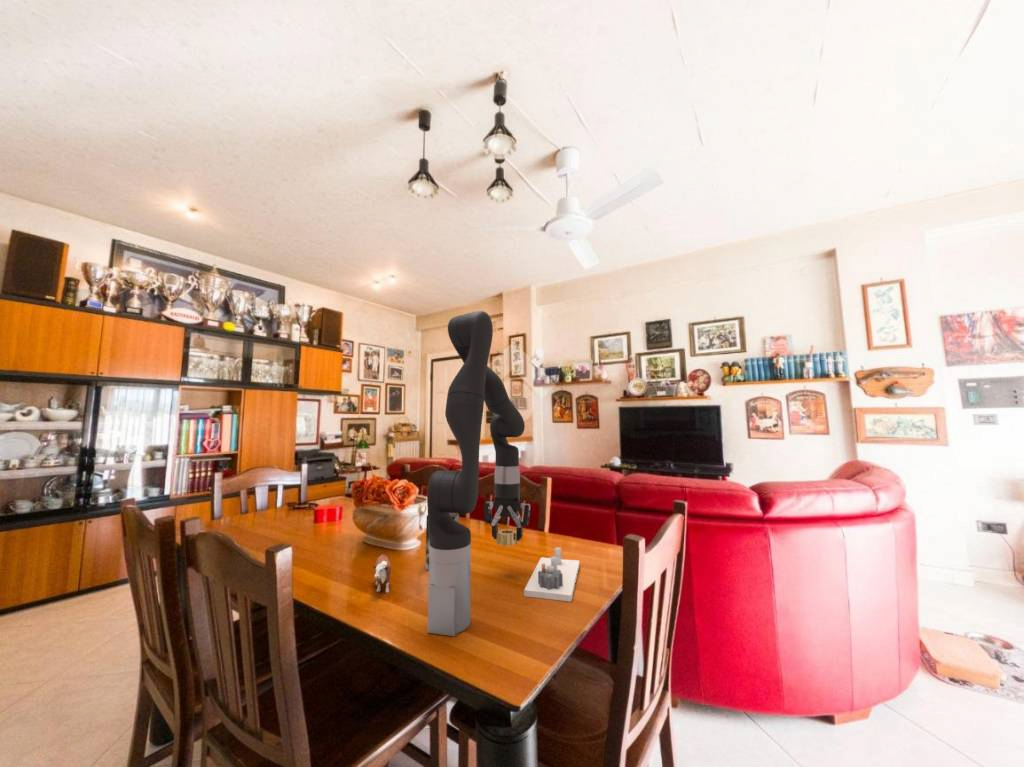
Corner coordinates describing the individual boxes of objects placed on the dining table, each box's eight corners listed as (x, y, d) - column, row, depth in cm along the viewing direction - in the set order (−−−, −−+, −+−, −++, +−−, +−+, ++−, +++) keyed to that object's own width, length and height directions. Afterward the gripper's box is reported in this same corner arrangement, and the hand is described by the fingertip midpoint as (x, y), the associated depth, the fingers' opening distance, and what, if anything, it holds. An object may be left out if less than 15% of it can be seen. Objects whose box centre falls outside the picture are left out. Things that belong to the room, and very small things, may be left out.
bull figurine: (371, 601, 95) (372, 567, 95) (375, 579, 108) (376, 549, 108) (389, 599, 96) (390, 565, 97) (391, 577, 109) (392, 548, 110)
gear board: (571, 601, 94) (570, 574, 94) (524, 596, 97) (523, 569, 97) (579, 565, 117) (579, 544, 118) (541, 562, 120) (540, 541, 121)
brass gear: (514, 546, 107) (514, 535, 107) (493, 544, 109) (493, 534, 109) (520, 540, 113) (520, 529, 113) (499, 538, 115) (499, 528, 115)
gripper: (480, 482, 111) (479, 541, 109) (527, 483, 107) (528, 545, 105) (488, 478, 118) (488, 534, 116) (533, 480, 115) (533, 537, 113)
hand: (507, 539), depth 111 cm, fingers closed on brass gear, 6 cm apart
